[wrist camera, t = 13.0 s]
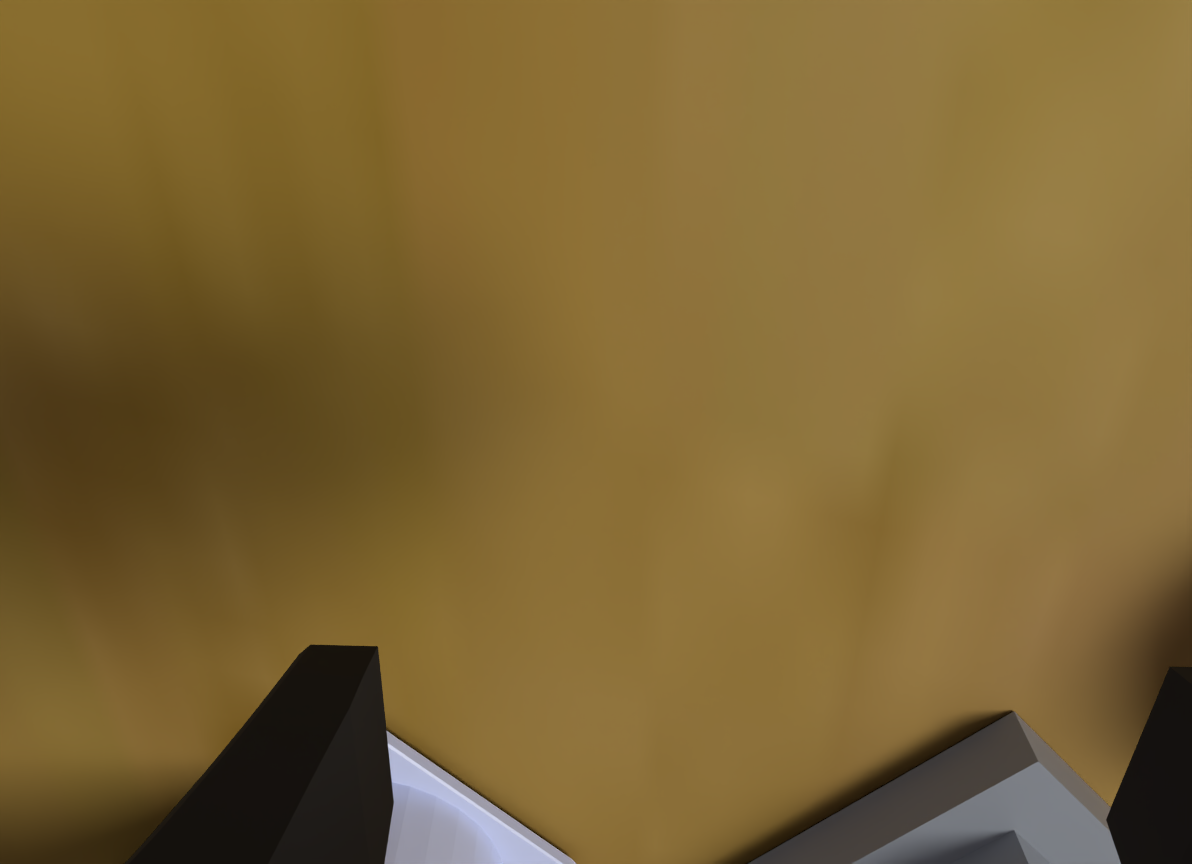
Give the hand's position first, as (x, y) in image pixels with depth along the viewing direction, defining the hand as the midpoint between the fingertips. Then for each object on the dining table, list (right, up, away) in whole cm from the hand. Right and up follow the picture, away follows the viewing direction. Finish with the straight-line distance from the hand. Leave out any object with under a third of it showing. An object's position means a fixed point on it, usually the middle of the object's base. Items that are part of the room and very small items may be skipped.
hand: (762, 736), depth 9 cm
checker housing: (+8, -10, +18) cm, 22 cm away
